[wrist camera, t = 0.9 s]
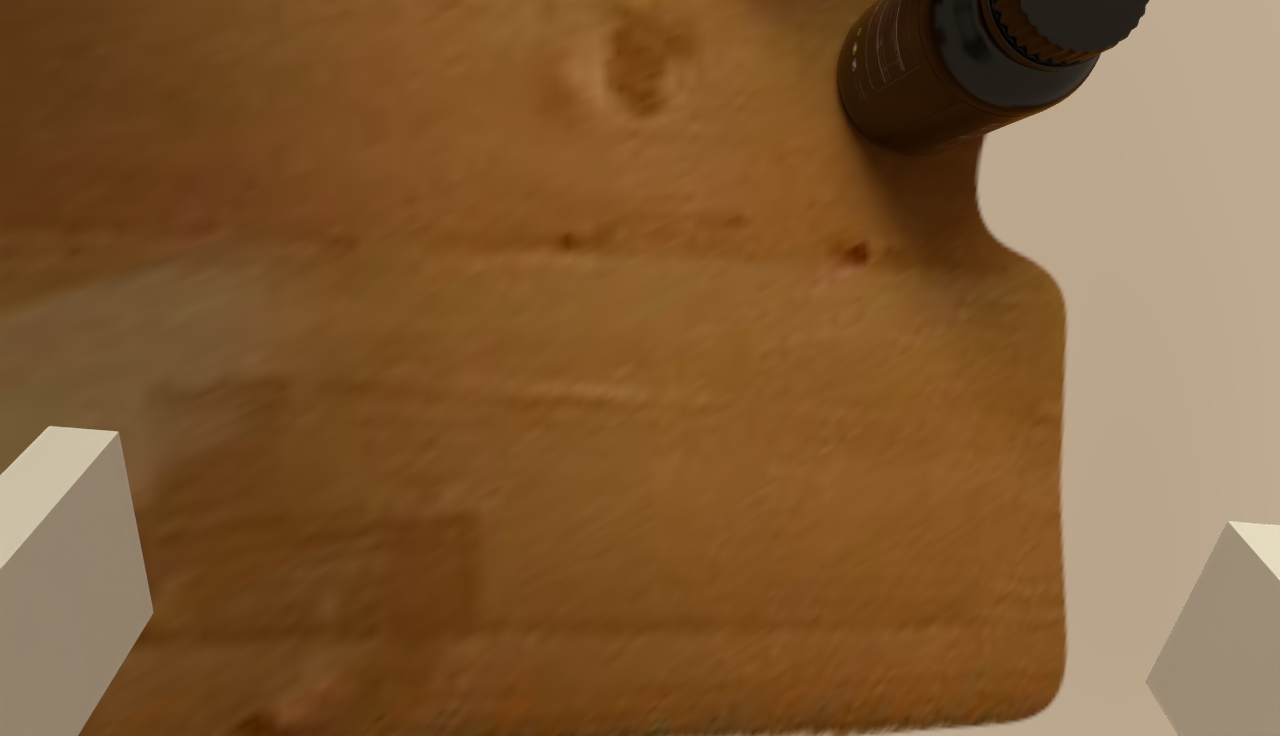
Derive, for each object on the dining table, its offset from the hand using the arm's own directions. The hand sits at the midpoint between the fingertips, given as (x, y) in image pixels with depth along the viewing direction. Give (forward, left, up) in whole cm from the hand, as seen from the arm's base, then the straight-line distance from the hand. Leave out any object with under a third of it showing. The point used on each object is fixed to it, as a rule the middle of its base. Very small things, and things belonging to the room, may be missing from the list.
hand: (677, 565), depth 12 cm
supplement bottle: (-9, +19, -27) cm, 35 cm away
